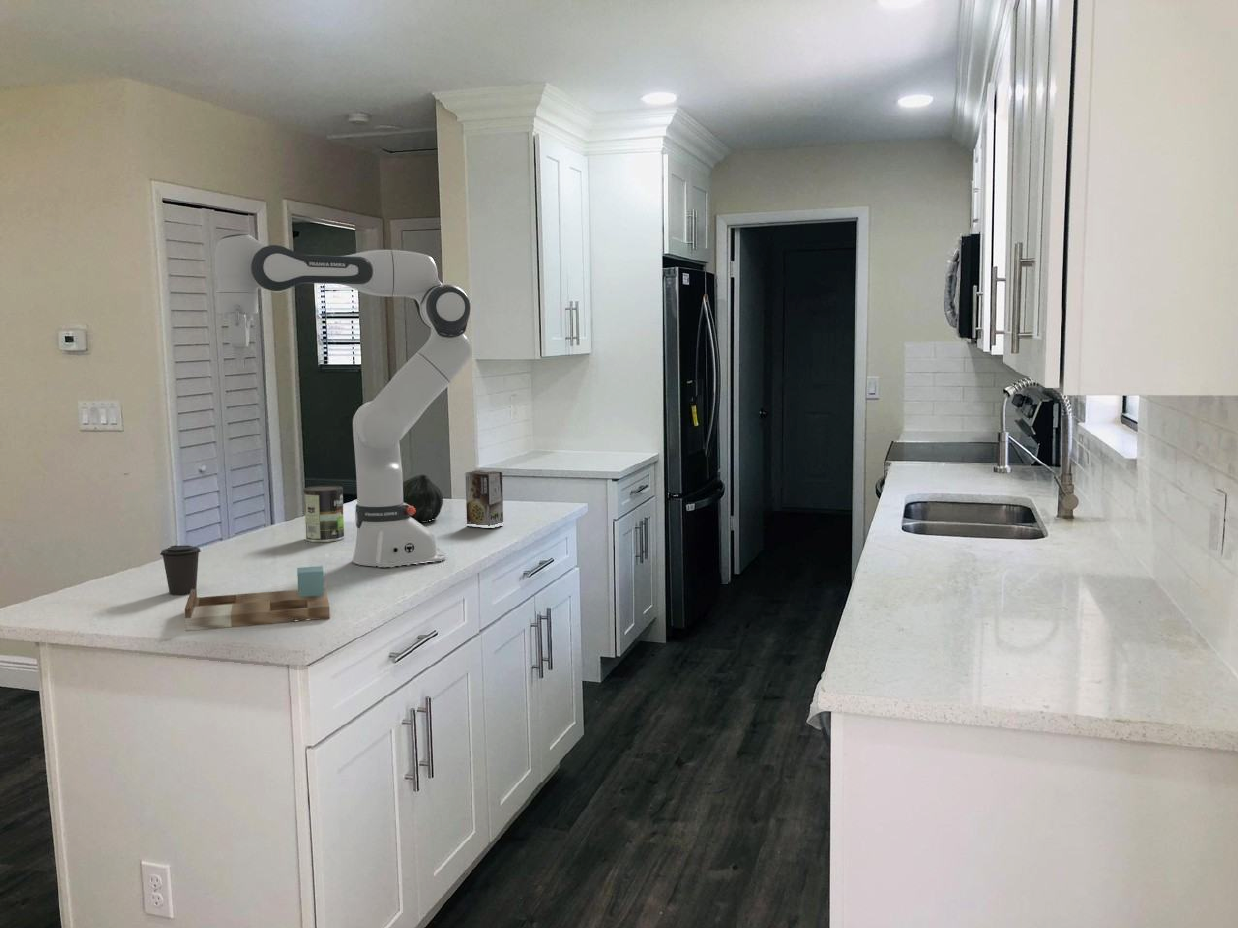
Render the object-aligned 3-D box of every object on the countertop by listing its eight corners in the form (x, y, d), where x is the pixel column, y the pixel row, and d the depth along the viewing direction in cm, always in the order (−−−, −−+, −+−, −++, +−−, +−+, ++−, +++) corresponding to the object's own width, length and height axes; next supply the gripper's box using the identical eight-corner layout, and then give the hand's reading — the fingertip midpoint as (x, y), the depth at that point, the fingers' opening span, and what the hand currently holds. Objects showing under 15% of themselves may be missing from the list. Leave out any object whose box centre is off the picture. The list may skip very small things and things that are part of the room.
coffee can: (349, 535, 282) (347, 485, 281) (338, 542, 272) (336, 490, 270) (312, 535, 283) (310, 485, 281) (300, 542, 272) (298, 490, 271)
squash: (389, 498, 312) (393, 466, 301) (438, 498, 316) (443, 466, 305) (392, 535, 303) (396, 503, 292) (442, 534, 307) (448, 503, 296)
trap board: (325, 598, 213) (325, 579, 213) (329, 618, 198) (328, 597, 198) (192, 609, 205) (191, 589, 205) (185, 630, 190) (184, 609, 190)
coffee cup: (173, 587, 223) (170, 542, 222) (209, 587, 223) (207, 543, 222) (155, 596, 215) (152, 550, 214) (193, 597, 215) (190, 550, 214)
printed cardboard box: (504, 526, 296) (503, 471, 294) (489, 529, 290) (489, 474, 288) (480, 523, 301) (479, 469, 299) (465, 526, 295) (464, 471, 293)
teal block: (323, 589, 212) (322, 566, 211) (324, 595, 207) (323, 571, 206) (298, 591, 210) (297, 567, 209) (298, 597, 205) (297, 573, 205)
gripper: (251, 304, 224) (254, 367, 226) (253, 307, 243) (255, 365, 245) (220, 304, 222) (223, 368, 224) (224, 307, 241) (227, 365, 243)
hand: (240, 366), depth 235 cm, fingers open, 8 cm apart
